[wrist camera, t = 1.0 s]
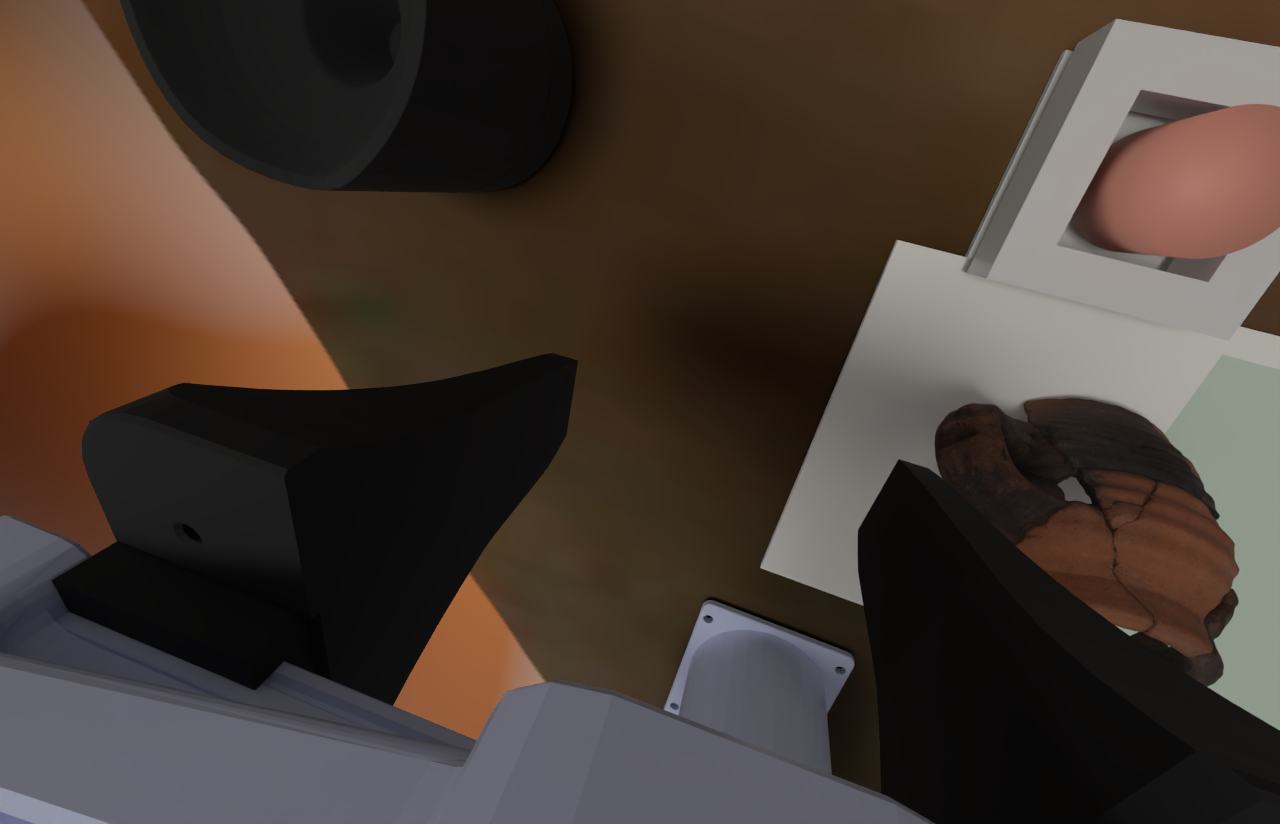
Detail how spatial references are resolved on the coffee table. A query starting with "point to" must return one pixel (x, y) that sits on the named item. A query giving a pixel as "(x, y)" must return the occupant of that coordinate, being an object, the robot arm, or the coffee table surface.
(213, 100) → the pen holder
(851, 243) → the coffee table surface
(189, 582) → the robot arm
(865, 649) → the coffee table surface
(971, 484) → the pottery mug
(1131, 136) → the button
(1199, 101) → the white square holder
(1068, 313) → the paper
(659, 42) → the coffee table surface
